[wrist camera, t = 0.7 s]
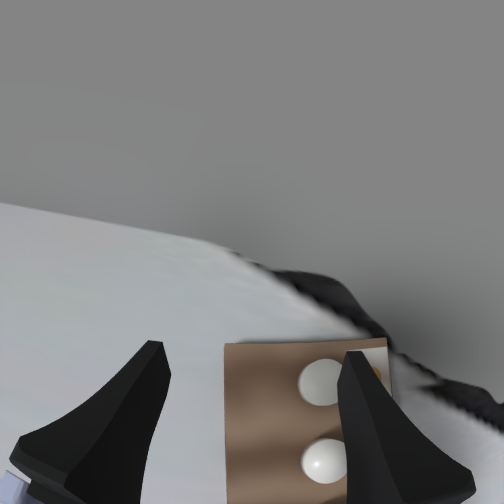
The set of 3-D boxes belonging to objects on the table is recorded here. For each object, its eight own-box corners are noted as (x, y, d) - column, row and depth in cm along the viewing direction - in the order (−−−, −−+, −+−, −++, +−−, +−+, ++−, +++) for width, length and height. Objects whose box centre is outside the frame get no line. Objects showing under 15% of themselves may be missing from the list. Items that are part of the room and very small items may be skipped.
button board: (380, 526, 21) (393, 532, 18) (229, 551, 19) (231, 563, 16) (374, 342, 31) (387, 336, 28) (223, 348, 29) (225, 342, 26)
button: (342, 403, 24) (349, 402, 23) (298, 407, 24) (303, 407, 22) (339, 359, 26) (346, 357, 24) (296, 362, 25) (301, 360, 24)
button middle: (344, 475, 21) (352, 478, 19) (300, 482, 20) (306, 487, 19) (343, 435, 23) (351, 436, 21) (299, 441, 22) (305, 443, 21)
